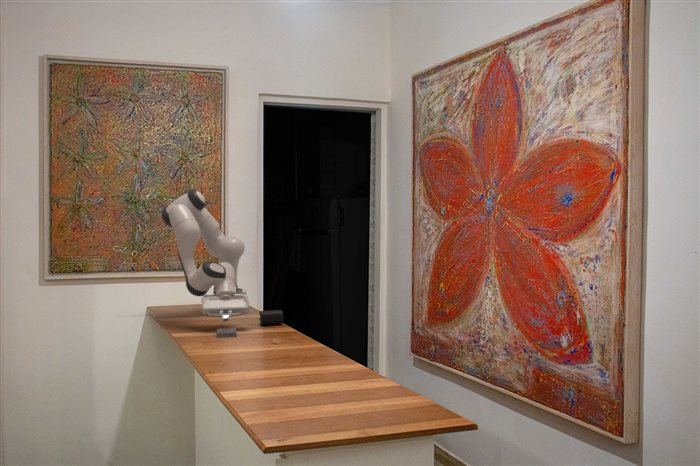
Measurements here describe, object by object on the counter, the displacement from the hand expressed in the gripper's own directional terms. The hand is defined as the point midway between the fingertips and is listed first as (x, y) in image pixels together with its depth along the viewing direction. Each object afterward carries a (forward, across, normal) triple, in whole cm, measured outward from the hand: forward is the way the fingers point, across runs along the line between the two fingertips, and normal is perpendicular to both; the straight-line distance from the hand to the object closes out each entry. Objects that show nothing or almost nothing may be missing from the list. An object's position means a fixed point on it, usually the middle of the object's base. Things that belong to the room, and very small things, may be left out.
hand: (225, 320), depth 312 cm
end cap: (-8, +20, +16) cm, 26 cm away
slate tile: (+2, 0, +4) cm, 5 cm away
